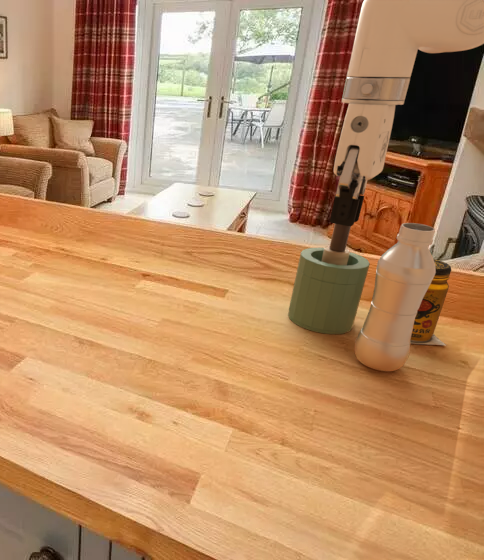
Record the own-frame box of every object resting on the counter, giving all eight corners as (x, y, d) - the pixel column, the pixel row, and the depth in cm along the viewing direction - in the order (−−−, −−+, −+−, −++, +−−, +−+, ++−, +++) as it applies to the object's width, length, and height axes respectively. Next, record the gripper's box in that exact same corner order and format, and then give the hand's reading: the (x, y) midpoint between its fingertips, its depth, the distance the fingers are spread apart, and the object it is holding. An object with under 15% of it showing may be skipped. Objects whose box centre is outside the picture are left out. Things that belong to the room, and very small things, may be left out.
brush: (345, 278, 78) (368, 185, 72) (339, 285, 76) (363, 189, 70) (321, 273, 80) (341, 181, 74) (314, 279, 78) (335, 185, 72)
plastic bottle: (410, 365, 68) (456, 228, 61) (393, 383, 64) (440, 238, 56) (361, 347, 73) (398, 216, 65) (342, 363, 69) (379, 225, 61)
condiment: (394, 342, 74) (417, 269, 70) (370, 317, 82) (390, 249, 77) (446, 346, 73) (472, 272, 69) (417, 320, 81) (439, 252, 77)
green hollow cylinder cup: (358, 318, 81) (375, 256, 77) (343, 340, 75) (361, 274, 70) (298, 302, 87) (311, 243, 83) (279, 321, 80) (292, 258, 76)
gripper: (395, 94, 59) (359, 239, 66) (415, 92, 71) (382, 216, 78) (328, 92, 64) (301, 228, 71) (357, 90, 75) (331, 208, 82)
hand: (343, 221), depth 74 cm, fingers closed on brush, 2 cm apart
